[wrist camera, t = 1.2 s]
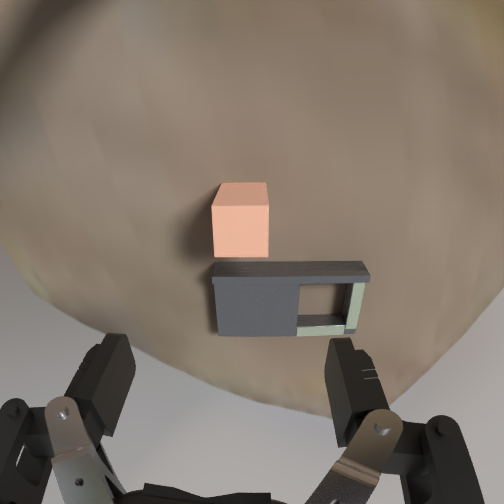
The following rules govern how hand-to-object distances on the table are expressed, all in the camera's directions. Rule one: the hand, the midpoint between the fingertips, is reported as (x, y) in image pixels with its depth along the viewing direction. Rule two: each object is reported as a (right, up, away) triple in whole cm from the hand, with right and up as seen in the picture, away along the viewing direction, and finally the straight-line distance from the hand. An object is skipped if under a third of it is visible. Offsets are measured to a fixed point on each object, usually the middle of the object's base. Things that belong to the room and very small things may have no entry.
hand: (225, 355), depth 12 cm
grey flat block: (+4, -1, +22) cm, 22 cm away
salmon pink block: (0, +8, +18) cm, 20 cm away
